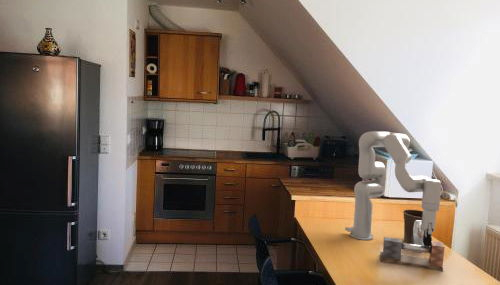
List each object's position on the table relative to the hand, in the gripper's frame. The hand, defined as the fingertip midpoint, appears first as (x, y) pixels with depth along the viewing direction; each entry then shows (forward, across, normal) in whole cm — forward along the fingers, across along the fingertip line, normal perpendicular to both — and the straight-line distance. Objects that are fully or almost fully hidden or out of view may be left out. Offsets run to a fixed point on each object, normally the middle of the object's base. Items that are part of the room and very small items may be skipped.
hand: (426, 243), depth 190 cm
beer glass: (+10, -20, -1) cm, 23 cm away
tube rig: (+10, 0, -7) cm, 12 cm away
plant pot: (+11, -34, -1) cm, 36 cm away
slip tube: (+4, 0, -5) cm, 6 cm away
